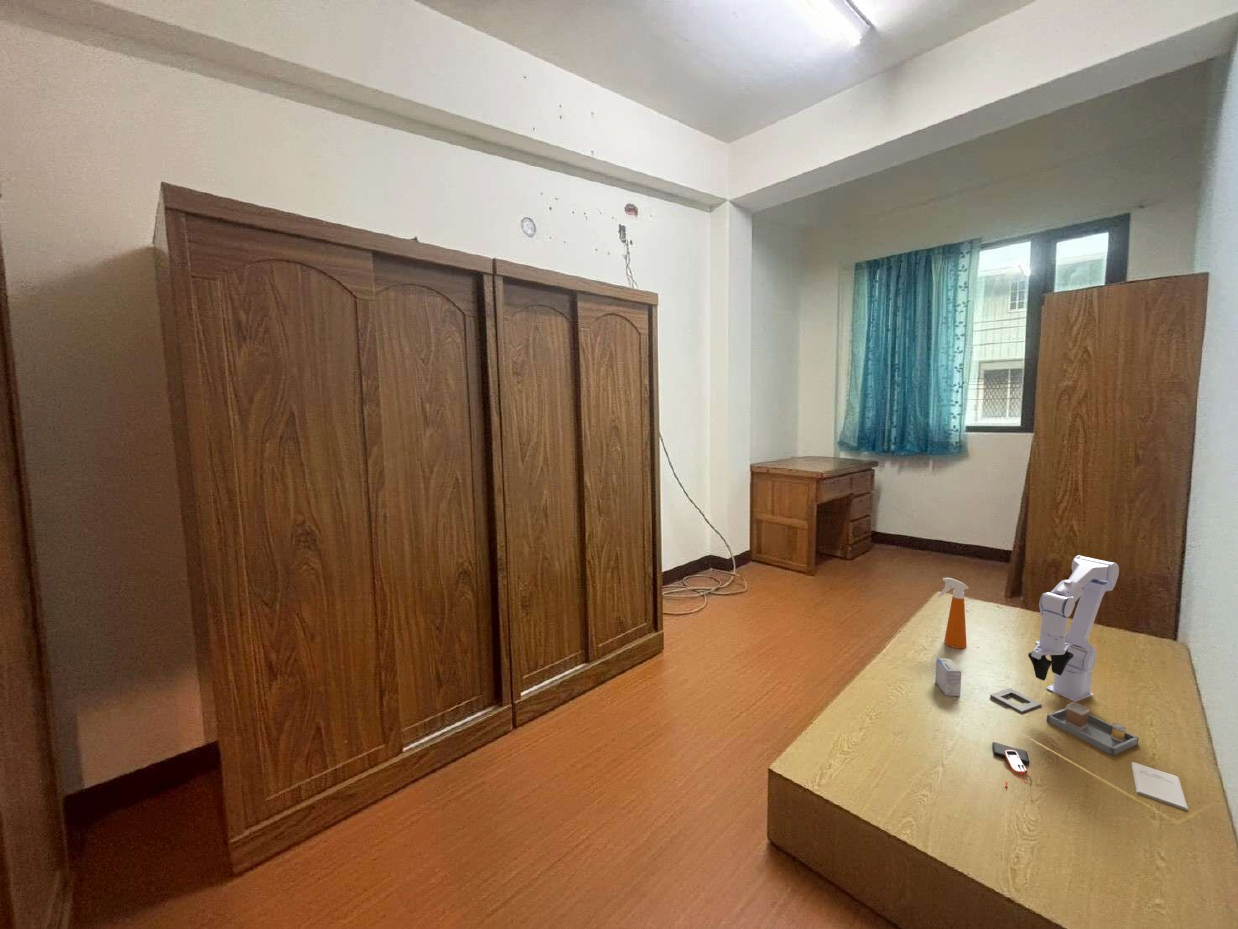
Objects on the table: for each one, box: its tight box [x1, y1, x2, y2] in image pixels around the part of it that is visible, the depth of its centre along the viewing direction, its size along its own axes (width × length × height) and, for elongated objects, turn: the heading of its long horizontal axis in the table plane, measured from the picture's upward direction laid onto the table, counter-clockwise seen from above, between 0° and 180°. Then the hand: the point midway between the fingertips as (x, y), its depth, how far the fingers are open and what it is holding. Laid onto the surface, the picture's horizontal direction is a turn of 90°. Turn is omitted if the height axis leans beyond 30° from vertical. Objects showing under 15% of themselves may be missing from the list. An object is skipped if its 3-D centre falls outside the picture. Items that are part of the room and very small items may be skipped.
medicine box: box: [934, 657, 962, 697], centre depth 162 cm, size 8×4×9 cm, turn 168°
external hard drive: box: [1130, 761, 1189, 812], centre depth 121 cm, size 2×8×12 cm
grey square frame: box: [989, 687, 1043, 714], centre depth 154 cm, size 9×9×1 cm
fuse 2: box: [1111, 722, 1127, 743], centre depth 137 cm, size 3×3×4 cm
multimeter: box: [991, 741, 1033, 791], centre depth 127 cm, size 18×12×3 cm, turn 143°
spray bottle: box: [936, 576, 970, 649], centre depth 189 cm, size 7×11×26 cm, turn 82°
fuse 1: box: [1065, 701, 1091, 731], centre depth 143 cm, size 4×4×6 cm
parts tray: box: [1046, 707, 1139, 757], centre depth 140 cm, size 11×15×2 cm
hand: (1048, 676), depth 150 cm, fingers open, 7 cm apart
